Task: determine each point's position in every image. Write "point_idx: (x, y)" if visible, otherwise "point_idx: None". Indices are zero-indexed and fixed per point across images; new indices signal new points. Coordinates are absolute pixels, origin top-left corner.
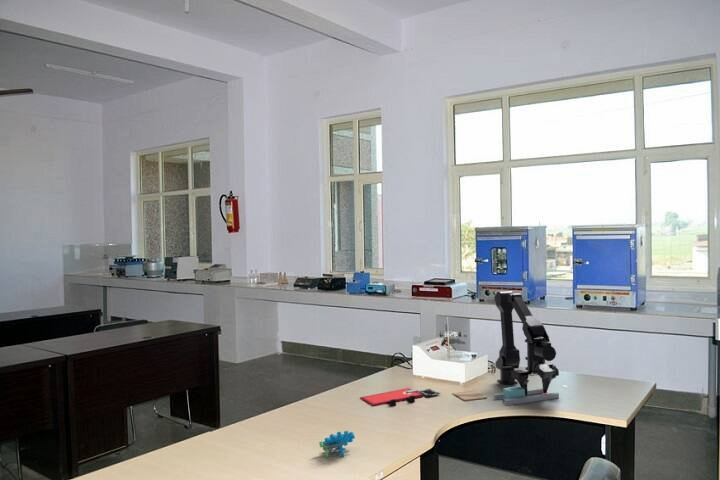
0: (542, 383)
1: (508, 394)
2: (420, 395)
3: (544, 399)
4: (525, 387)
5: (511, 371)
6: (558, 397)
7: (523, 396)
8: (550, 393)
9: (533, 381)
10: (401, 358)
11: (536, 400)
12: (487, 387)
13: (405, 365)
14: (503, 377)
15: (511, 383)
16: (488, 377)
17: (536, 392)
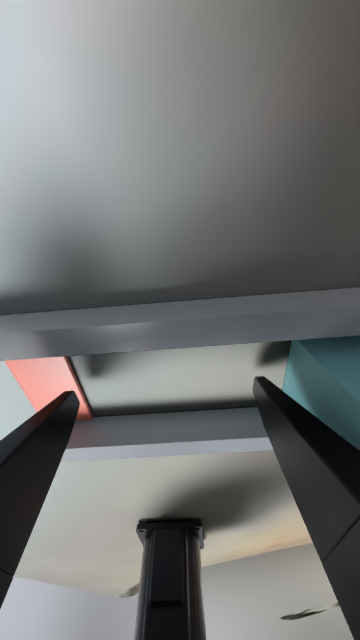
0: (40, 502)
1: None
2: None
3: (130, 305)
4: (349, 452)
5: (166, 624)
6: None
7: (327, 356)
8: (32, 354)
9: (59, 524)
10: (295, 618)
11: (216, 299)
12: (290, 513)
13: (328, 606)
14: (199, 568)
15: (170, 524)
16: (203, 559)
17: (124, 426)
